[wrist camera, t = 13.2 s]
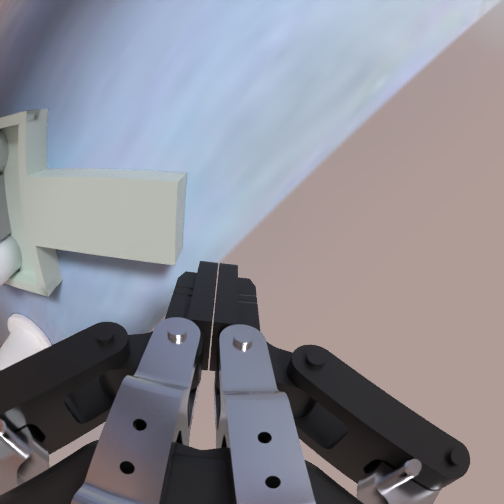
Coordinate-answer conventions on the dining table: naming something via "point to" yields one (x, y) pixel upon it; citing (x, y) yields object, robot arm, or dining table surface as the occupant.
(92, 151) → the dining table surface
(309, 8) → the dining table surface
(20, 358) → the candle
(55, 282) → the tray
